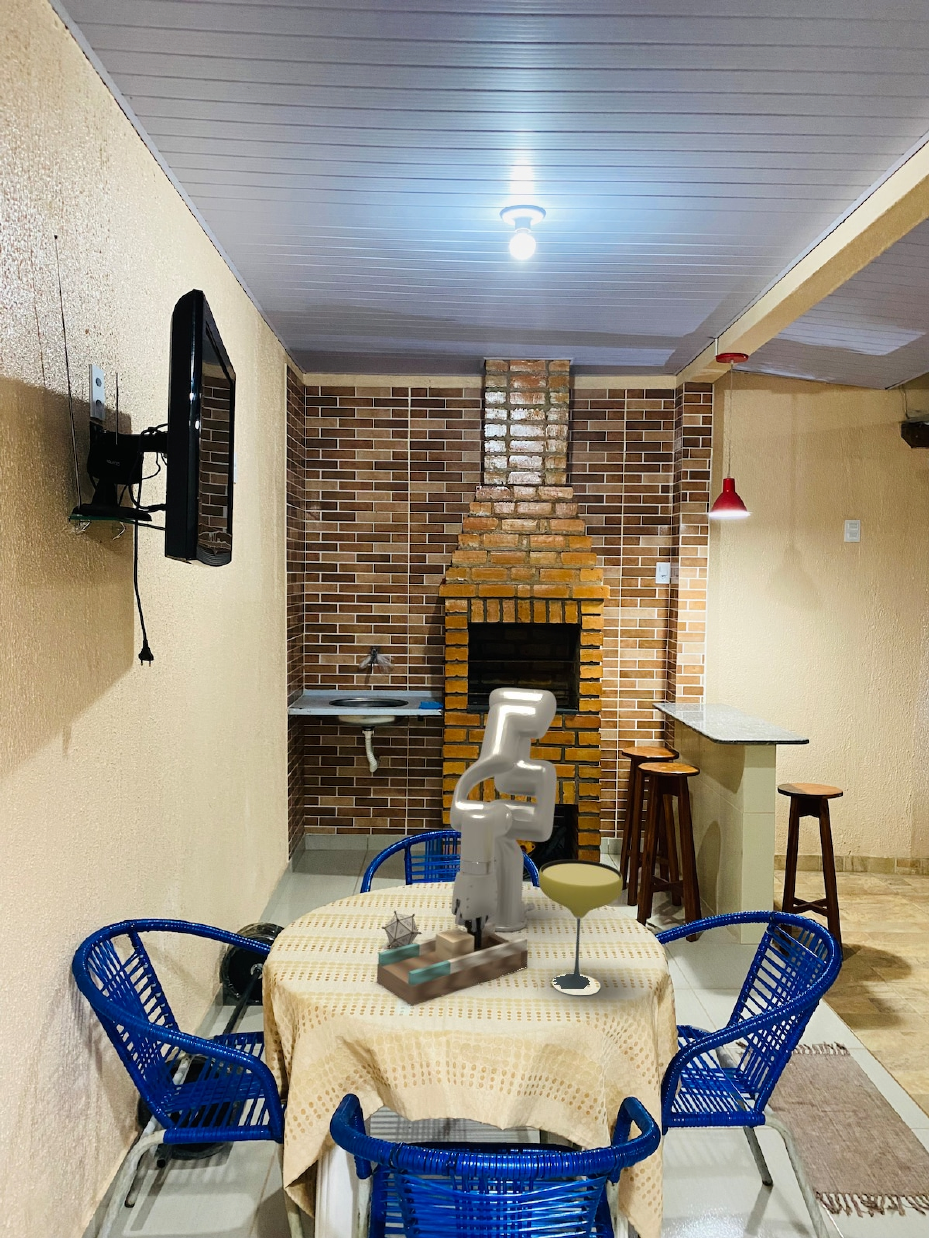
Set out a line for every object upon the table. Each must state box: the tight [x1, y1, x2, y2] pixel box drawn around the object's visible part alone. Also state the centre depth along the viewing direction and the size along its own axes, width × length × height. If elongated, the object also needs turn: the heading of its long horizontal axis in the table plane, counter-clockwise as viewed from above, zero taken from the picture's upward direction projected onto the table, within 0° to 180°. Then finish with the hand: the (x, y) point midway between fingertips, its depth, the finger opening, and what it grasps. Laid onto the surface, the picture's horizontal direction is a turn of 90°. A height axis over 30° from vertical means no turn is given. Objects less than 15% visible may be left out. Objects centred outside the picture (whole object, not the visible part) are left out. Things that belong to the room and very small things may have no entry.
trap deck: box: [376, 922, 529, 1006], centre depth 203 cm, size 32×13×6 cm, turn 129°
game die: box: [380, 910, 422, 949], centre depth 217 cm, size 9×8×10 cm
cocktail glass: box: [538, 859, 624, 989], centre depth 199 cm, size 18×18×25 cm
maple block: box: [435, 927, 474, 961], centre depth 202 cm, size 6×6×5 cm
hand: (473, 946), depth 206 cm, fingers closed
